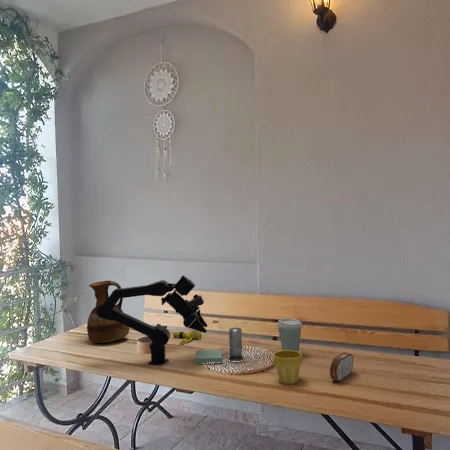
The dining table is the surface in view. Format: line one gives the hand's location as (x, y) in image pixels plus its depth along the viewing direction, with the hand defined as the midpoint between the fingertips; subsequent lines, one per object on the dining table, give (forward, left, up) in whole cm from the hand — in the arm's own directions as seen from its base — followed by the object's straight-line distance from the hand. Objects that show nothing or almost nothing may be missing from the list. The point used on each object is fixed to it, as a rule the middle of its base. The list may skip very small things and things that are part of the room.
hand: (206, 329), depth 185 cm
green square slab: (+1, 0, -13) cm, 13 cm away
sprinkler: (+28, +24, -14) cm, 39 cm away
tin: (-3, -55, -14) cm, 57 cm away
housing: (+4, -11, -13) cm, 18 cm away
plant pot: (-12, -37, -14) cm, 41 cm away
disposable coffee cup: (+17, -31, -14) cm, 38 cm away
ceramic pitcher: (+14, +60, -14) cm, 63 cm away
